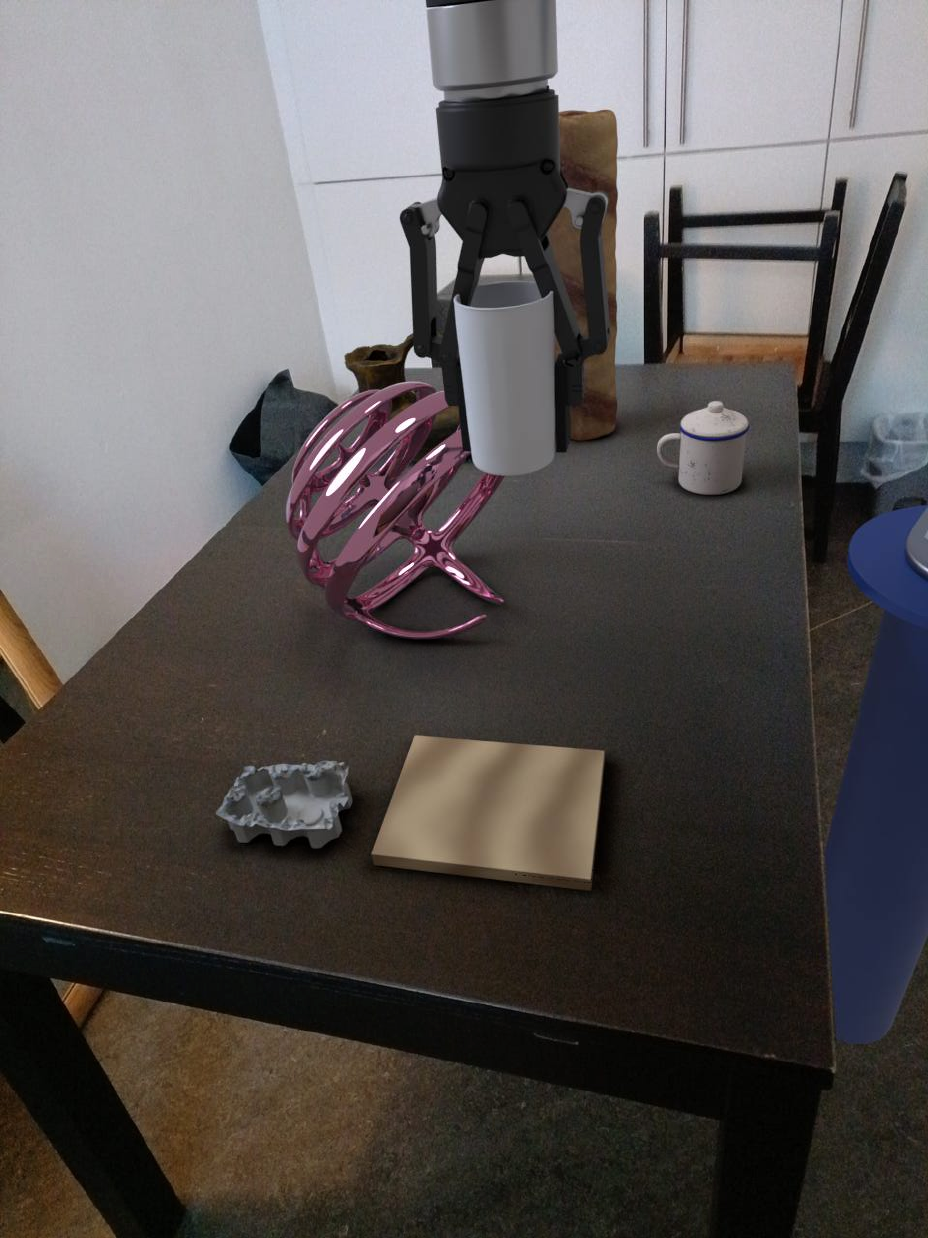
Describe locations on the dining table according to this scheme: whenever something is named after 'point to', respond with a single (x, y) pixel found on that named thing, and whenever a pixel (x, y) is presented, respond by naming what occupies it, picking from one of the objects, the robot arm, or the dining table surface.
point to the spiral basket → (383, 503)
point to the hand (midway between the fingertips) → (516, 443)
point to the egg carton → (288, 802)
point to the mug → (508, 376)
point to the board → (495, 812)
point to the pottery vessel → (387, 369)
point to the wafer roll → (587, 169)
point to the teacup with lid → (709, 450)
